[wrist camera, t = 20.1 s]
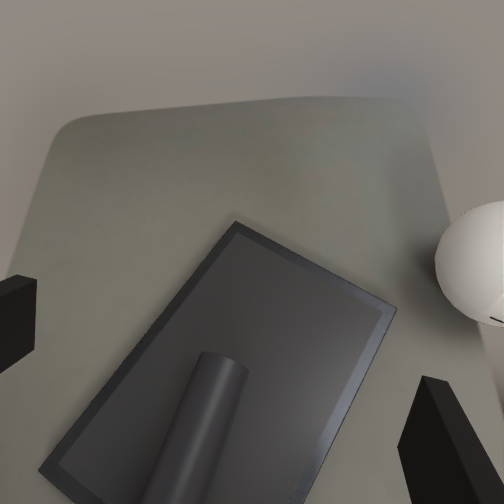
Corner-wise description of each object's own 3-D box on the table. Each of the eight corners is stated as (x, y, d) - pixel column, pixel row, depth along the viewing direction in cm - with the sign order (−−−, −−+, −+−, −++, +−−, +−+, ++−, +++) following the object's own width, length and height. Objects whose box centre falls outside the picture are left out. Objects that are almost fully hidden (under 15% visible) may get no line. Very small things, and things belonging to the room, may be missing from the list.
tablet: (45, 471, 21) (35, 470, 20) (235, 227, 29) (235, 219, 28) (237, 634, 18) (236, 643, 17) (392, 313, 26) (398, 307, 25)
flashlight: (207, 363, 23) (102, 625, 17) (193, 345, 21) (65, 643, 15) (254, 377, 22) (159, 659, 17) (245, 361, 20) (129, 684, 14)
